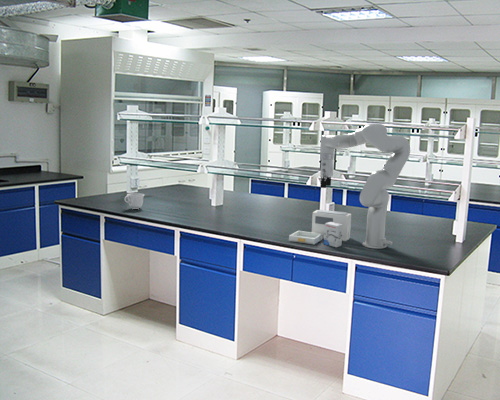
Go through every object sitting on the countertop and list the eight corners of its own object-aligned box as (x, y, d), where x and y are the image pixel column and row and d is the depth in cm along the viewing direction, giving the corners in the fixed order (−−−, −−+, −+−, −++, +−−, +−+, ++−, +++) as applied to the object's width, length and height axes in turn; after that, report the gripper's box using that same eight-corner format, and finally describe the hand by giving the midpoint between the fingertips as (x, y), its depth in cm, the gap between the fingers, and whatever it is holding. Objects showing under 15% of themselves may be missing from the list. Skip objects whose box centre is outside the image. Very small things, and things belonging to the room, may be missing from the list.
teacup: (119, 209, 358) (119, 194, 356) (137, 206, 368) (137, 192, 367) (130, 211, 350) (129, 197, 348) (148, 209, 360) (148, 194, 359)
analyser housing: (350, 238, 293) (351, 212, 291) (345, 241, 285) (347, 215, 283) (316, 233, 302) (317, 208, 299) (311, 236, 294) (312, 211, 292)
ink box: (323, 244, 279) (324, 222, 277) (328, 242, 282) (330, 221, 280) (336, 247, 273) (337, 225, 271) (341, 245, 276) (343, 224, 274)
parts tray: (322, 239, 289) (322, 233, 289) (314, 244, 277) (314, 239, 277) (297, 235, 296) (298, 230, 295) (288, 241, 283) (288, 235, 283)
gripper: (329, 158, 285) (327, 189, 288) (337, 156, 301) (335, 185, 304) (316, 157, 288) (314, 188, 291) (324, 155, 304) (323, 184, 307)
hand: (325, 186), depth 297 cm, fingers open, 9 cm apart
